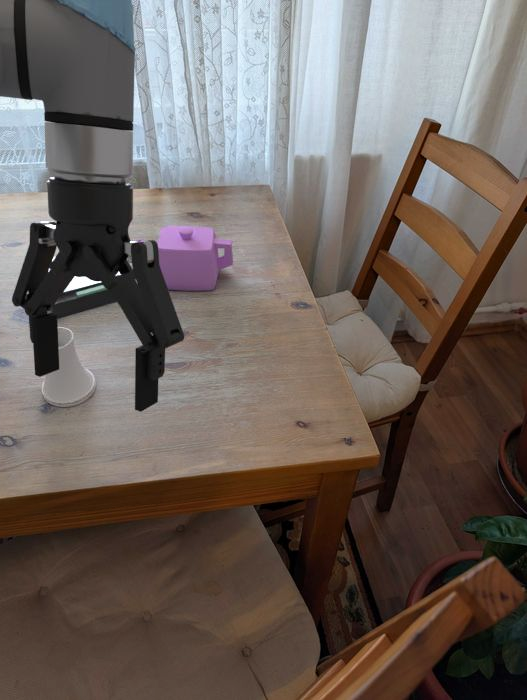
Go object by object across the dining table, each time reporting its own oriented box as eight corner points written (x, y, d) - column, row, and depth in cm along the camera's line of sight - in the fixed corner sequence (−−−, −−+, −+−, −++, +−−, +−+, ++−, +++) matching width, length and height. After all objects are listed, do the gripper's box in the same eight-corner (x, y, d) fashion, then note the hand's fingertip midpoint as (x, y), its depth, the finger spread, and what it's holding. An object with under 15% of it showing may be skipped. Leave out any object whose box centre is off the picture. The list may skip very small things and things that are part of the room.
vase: (42, 376, 80) (25, 325, 73) (93, 367, 82) (81, 317, 75) (43, 411, 75) (25, 361, 68) (97, 401, 77) (85, 351, 70)
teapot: (135, 290, 97) (128, 242, 90) (144, 260, 105) (138, 213, 98) (231, 294, 98) (232, 246, 91) (233, 263, 106) (234, 217, 99)
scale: (55, 319, 90) (50, 302, 88) (34, 275, 100) (29, 259, 97) (138, 295, 96) (135, 279, 94) (110, 256, 106) (108, 240, 103)
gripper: (229, 193, 46) (214, 407, 54) (27, 165, 56) (37, 351, 63) (180, 194, 40) (170, 438, 47) (-39, 163, 49) (-19, 369, 57)
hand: (94, 388), depth 55 cm, fingers open, 13 cm apart
